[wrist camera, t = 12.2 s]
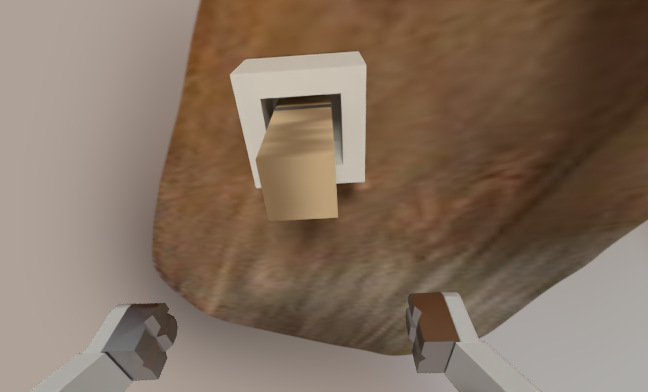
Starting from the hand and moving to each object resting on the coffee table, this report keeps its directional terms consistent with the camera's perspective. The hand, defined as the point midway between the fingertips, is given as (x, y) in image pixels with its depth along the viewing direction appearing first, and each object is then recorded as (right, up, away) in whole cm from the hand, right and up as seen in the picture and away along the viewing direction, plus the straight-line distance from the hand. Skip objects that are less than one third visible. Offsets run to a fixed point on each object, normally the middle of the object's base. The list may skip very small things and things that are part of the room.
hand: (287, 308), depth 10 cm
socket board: (0, +11, +16) cm, 20 cm away
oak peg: (0, +11, +16) cm, 19 cm away
